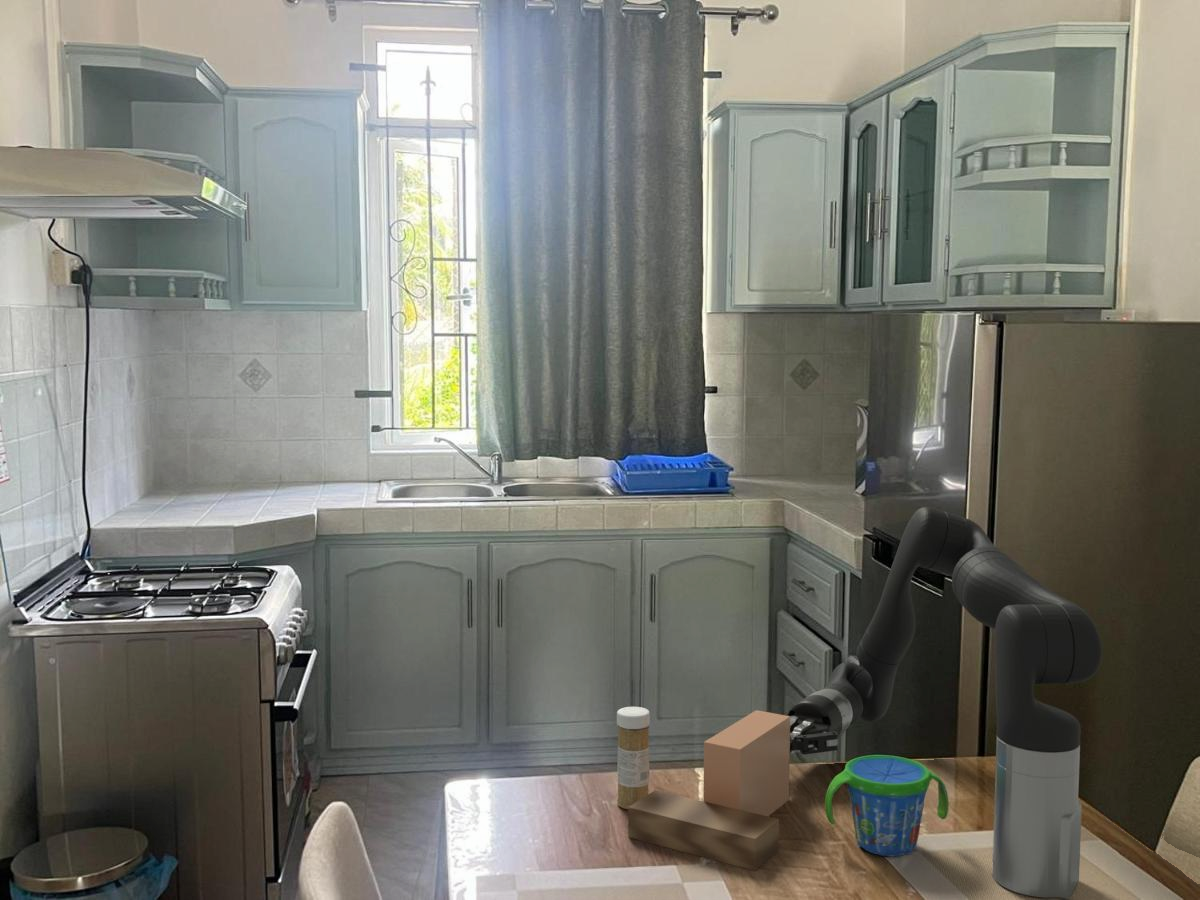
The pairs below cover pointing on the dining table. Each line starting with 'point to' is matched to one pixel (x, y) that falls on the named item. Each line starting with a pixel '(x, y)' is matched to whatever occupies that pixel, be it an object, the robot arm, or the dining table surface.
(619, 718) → the sprinkles bottle
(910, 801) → the snack cup
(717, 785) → the block
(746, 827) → the brown wooden bar
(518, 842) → the dining table surface
